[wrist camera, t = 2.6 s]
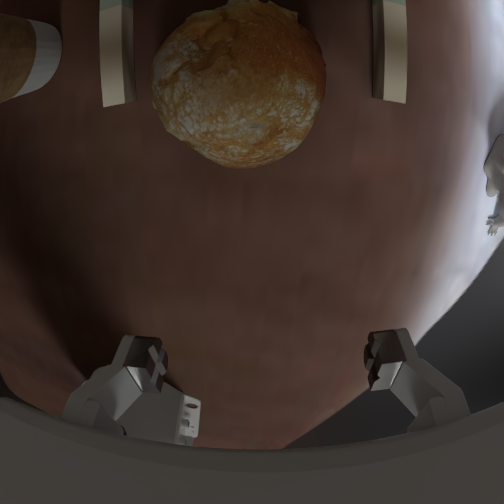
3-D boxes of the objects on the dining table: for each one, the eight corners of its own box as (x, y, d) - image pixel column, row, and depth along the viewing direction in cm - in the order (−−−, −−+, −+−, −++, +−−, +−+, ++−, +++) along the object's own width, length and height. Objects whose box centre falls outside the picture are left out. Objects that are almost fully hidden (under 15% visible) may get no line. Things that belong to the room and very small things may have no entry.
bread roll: (169, 83, 20) (107, 145, 16) (220, -32, 11) (144, -17, 7) (280, 143, 22) (250, 221, 18) (364, 47, 14) (369, 101, 10)
